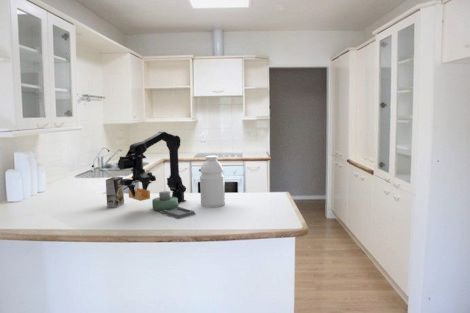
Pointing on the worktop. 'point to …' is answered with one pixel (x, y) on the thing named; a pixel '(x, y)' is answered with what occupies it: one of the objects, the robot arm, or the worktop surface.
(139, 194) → the chute
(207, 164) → the bottle
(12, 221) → the worktop surface
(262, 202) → the worktop surface
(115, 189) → the coffee box
